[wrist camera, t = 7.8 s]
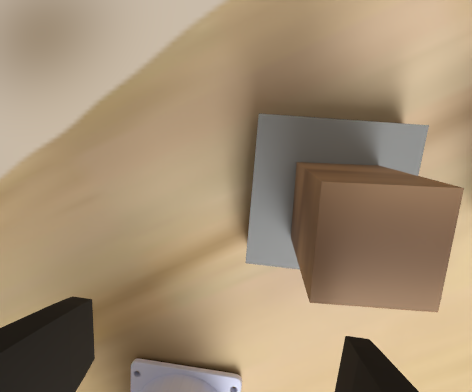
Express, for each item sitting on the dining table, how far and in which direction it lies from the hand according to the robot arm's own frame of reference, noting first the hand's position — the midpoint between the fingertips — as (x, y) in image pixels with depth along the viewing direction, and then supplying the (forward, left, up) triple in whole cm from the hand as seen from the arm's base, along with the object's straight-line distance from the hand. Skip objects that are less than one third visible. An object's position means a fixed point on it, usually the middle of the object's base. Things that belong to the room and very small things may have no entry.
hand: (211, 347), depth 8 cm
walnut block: (+3, -5, -8) cm, 10 cm away
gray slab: (+3, -4, -11) cm, 12 cm away
